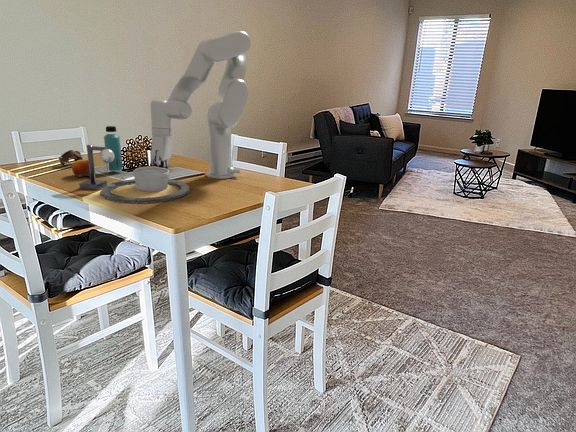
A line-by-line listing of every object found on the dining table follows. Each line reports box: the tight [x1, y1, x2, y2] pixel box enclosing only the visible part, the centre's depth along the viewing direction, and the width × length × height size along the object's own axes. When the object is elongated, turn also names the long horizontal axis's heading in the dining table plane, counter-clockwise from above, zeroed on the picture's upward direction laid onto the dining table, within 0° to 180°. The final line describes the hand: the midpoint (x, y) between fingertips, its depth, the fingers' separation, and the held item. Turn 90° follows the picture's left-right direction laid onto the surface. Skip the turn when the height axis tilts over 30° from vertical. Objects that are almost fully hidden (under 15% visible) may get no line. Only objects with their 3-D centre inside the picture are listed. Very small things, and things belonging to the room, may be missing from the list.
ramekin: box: [132, 166, 170, 192], centre depth 160 cm, size 13×13×7 cm
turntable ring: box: [100, 178, 190, 204], centre depth 156 cm, size 31×31×1 cm
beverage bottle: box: [103, 125, 123, 172], centre depth 178 cm, size 6×7×20 cm
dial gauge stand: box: [78, 144, 115, 191], centre depth 155 cm, size 12×7×16 cm, turn 84°
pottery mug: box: [58, 149, 84, 167], centre depth 190 cm, size 12×10×8 cm
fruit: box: [71, 159, 90, 178], centre depth 172 cm, size 8×8×8 cm
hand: (163, 176), depth 172 cm, fingers closed
